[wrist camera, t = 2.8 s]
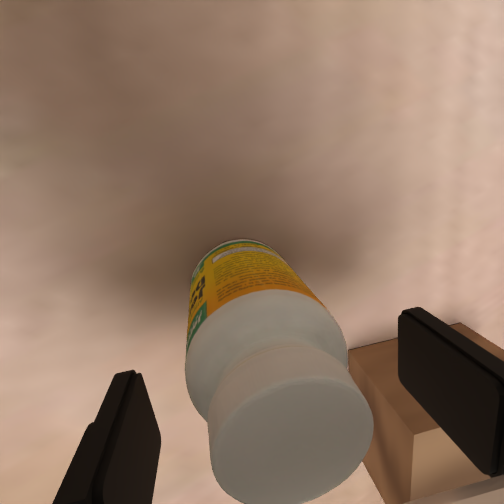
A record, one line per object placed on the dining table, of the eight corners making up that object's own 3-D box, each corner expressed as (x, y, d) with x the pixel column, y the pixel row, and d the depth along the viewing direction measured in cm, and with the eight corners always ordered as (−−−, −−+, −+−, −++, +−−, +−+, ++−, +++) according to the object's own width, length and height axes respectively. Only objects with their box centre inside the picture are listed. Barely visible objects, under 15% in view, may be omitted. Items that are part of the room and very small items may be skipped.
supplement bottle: (288, 321, 17) (388, 504, 8) (194, 333, 16) (191, 552, 7) (288, 232, 15) (417, 338, 6) (184, 240, 15) (163, 375, 6)
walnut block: (348, 350, 18) (413, 434, 13) (460, 322, 19) (567, 390, 14) (351, 441, 21) (407, 544, 15) (450, 413, 22) (537, 501, 16)
